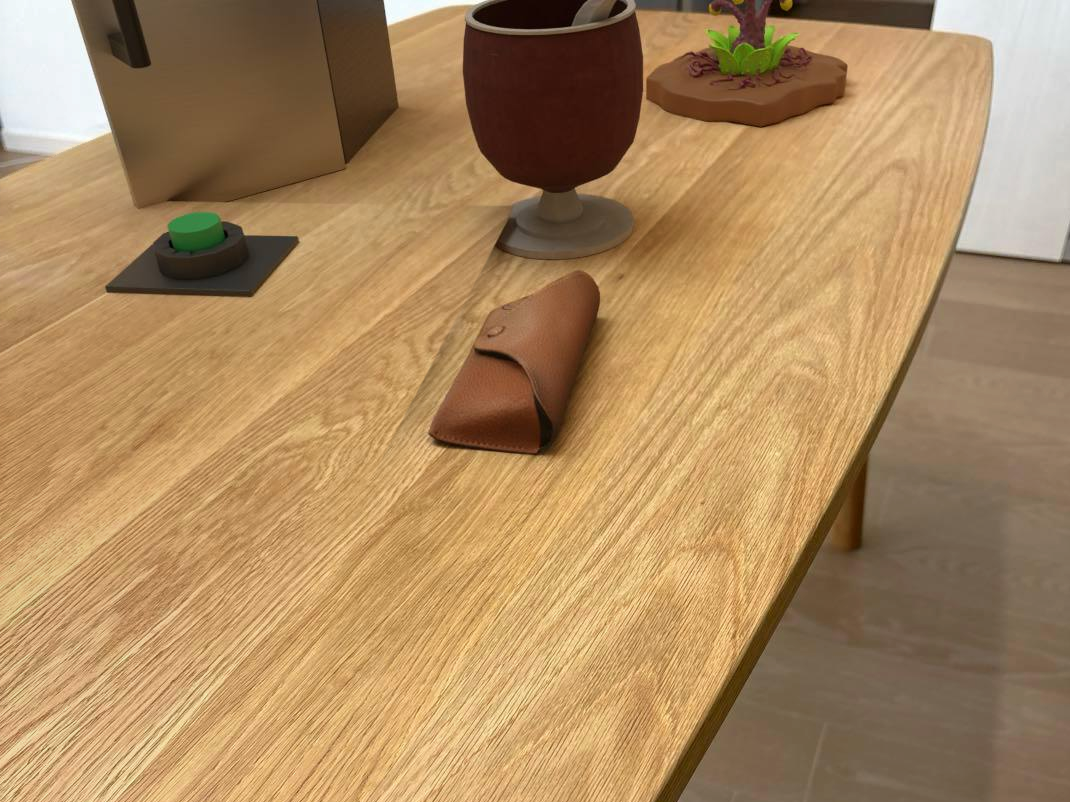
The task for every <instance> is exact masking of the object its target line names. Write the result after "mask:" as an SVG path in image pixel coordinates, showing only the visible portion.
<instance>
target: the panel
mask: <svg viewBox="0 0 1070 802" xmlns="http://www.w3.org/2000/svg"><path fill="white" fill-rule="evenodd" d="M221 223H222V227H223V231H224V235H225V240H224V241H223V242H222V243H220V244H218V245H216V246H213V247H211V248H207V249H202V250H196V251H178V250H175V249H174V248H173V244H172V241H171V237H170V234H169V230H168V231H166V232H163V233H162V234H161V235H159V237H158V238H156V239H155V240H154V241H153V242H152V244H150V245H149V246H148V247H147V248H146V249H145V250H144V251H143V252H142V253H140V254H139V255H138V256H137V257H136V258H135V259H134V260H132V262H131V263H129V264H128V265H127V266H126V267H125V268H124V269H122V270H121V272H119V273H118V274H117V275H116V276H114V278H113V279H111V280H110V281H109V282H108V283H107V284H106V285H105V291H106V293H109V294H135V295H136V294H137V295H138V294H141V295H170V296H172V295H173V296H176V295H177V296H203V297H206V296H207V297H232V298H233V297H237V298H239V297H240V298H252V297H254V295H255V294H256V293H257V291H258V290H260V288H261V287H262V286H263V285H264V283H265V282H266V281H268V279H269V278H270V277H271V276H272V274H273V273H274V272H275V271H276V270H277V269H278V267H279V266H280V265H281V264H282V263H283V261H285V259H286V258H287V257H288V256H289V255H290V253H291V252H292V251H294V249H295V248H296V247H297V246H298V244H300V239H299V236H298V235H258V234H257V235H255V234H253V235H252V234H245V232H244V230H243V227H242V226H241V225H239V224H236V223H233V222H230V221H227V220H221Z"/></svg>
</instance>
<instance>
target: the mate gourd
mask: <svg viewBox="0 0 1070 802" xmlns="http://www.w3.org/2000/svg"><path fill="white" fill-rule="evenodd" d="M636 8H637V5H636V1H635V0H484V1H481V2H478V3H477V4H474V5H473V6H471V7H470V8H468V9H467V10H466V11H465V13H464V21H465V26H464V34H463V48H462V49H463V50H462V54H463V55H462V77H463V88H464V99H465V105H466V106H465V107H466V110H467V113H468V118H469V122H470V126H471V130H472V134H473V136H474V138H475V139H474V140H475V141H476V142H475V143H476V144H477V147H478V150H479V151H480V153H481V154H482V155H483V156H484V158H485V159H486V160H487V161H488V162H489V164H490V165H491V166H492V167H493V168H494V169H495V171H497V173H498V174H499V175H500V176H501V177H502V178H503V179H505V180H508V181H510V182H512V183H515V184H519V185H523V186H525V187H526V186H527V187H531V188H535V189H540V190H542V193H541V195H539V196H533V197H529V198H526V199H522V200H520V201H516V202H513V203H511V204H510V205H508V207H513V209H512V211H511V213H510V215H509V217H508V219H507V221H506V222H505V225H504V226H503V228H502V230H501V232H500V234H499V236H498V238H497V240H496V241H495V243H494V246H495V247H497V249H500V250H502V251H503V252H505V253H509V254H511V255H514V256H518V257H523V258H527V259H536V260H568V259H576V258H583V257H588V256H592V255H596V254H600V253H603V252H606V251H609V250H611V249H613V248H615V247H617V246H619V245H621V244H622V243H624V242H625V241H626V240H627V239H629V237H630V236H631V235H632V233H633V230H634V227H635V225H634V224H635V223H634V222H635V221H634V215H633V212H632V211H631V210H630V208H629V207H628V206H626V205H624V204H623V203H621V202H620V201H617V200H615V199H613V198H612V199H611V198H609V197H605V196H601V195H600V196H599V195H596V194H595V195H594V194H587V193H577V190H576V188H579V187H580V186H584V185H586V184H589V183H591V182H594V181H596V180H599V179H601V178H603V177H605V176H608V175H609V174H611V172H613V171H614V170H615V169H616V168H617V167H618V165H619V163H620V162H621V161H622V159H623V158H624V157H625V155H626V154H627V152H628V151H629V149H630V148H631V146H632V145H633V143H634V142H635V138H636V136H637V135H636V134H637V131H638V126H639V122H640V117H641V111H642V101H643V94H644V53H643V47H642V38H641V32H640V31H641V30H640V26H639V22H638V18H637V13H636Z"/></svg>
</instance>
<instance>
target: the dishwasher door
mask: <svg viewBox="0 0 1070 802" xmlns="http://www.w3.org/2000/svg"><path fill="white" fill-rule="evenodd" d="M70 1H71V5H72V8H73V12H74V14H75V18H76V21H77V25H78V28H79V31H80V34H81V37H82V40H83V41H82V42H83V43H84V47H85V50H86V54H87V57H88V60H89V64H90V66H91V68H92V74H93V76H94V79H95V83H96V85H97V89H98V92H99V96H100V99H101V103H102V105H103V109H104V112H105V115H106V119H107V122H108V125H109V128H110V132H111V134H112V138H113V141H114V144H115V147H116V151H117V153H118V157H119V160H120V163H121V167H122V170H123V173H124V177H125V180H126V183H127V186H128V189H129V193H130V197H131V199H132V203H133V206H135V208H136V209H138V210H139V209H140V210H141V209H143V208H147V207H151V206H154V205H158V204H162V203H166V202H175V203H176V202H182V203H183V202H185V203H228V202H231V201H234V200H238V199H242V198H245V197H249V196H253V195H255V194H256V195H257V194H260V193H263V192H268V191H270V190H274V189H278V188H282V187H285V186H288V185H293V184H296V183H299V182H303V181H306V180H310V179H314V178H317V177H321V176H325V175H328V174H331V173H335V172H339V171H342V170H346V169H347V166H346V165H345V160H344V154H343V149H342V143H341V137H340V132H339V126H338V120H337V115H336V109H335V104H334V98H333V92H332V87H331V81H330V75H329V70H328V64H327V58H326V53H325V47H324V41H323V36H322V30H321V24H320V19H319V13H318V7H317V2H316V0H70Z"/></svg>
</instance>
